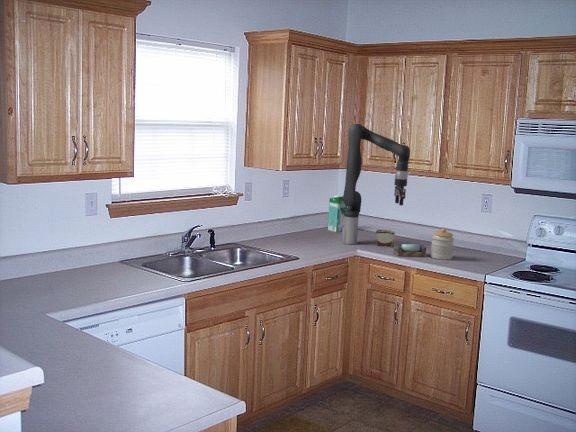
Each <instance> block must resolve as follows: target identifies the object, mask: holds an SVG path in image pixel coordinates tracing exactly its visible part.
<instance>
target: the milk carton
mask: <svg viewBox="0 0 576 432" xmlns="http://www.w3.org/2000/svg"><path fill="white" fill-rule="evenodd" d="M328 200H329V205H328V218H327V219H328V220H327V231H330V232H334V233H342V228H343V225H344V212H345V211H346V210H347V207H348V206H346V205H345V204H344V201H343V195H342V196H341V195H334V197H329V199H328Z"/></svg>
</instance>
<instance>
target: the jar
mask: <svg viewBox="0 0 576 432" xmlns="http://www.w3.org/2000/svg"><path fill="white" fill-rule="evenodd" d="M453 236H454V234H453V233H451V232H450V231H448V230H447V229H446V228H444V227H443V228H442V229H441V230H437V231H435V232H434V233H433V236H431V239H432V241H431V242H430V243H431V247H430V248H431V249H430V257H431V258H433V259H436V260H441V261H442V260H443V261H445V260H446V261H447V260H448V261H449V260H452V259H453V256H454V241H455V238H454V237H453Z"/></svg>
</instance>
